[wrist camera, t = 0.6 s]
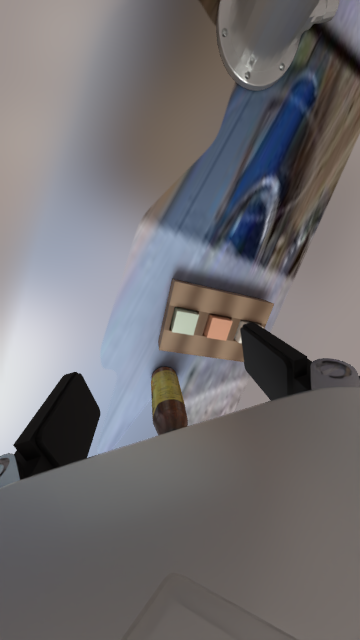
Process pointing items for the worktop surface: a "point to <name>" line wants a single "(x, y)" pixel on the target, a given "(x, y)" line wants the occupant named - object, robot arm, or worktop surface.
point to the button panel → (203, 304)
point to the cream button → (238, 334)
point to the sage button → (184, 321)
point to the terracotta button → (217, 327)
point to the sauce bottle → (167, 401)
